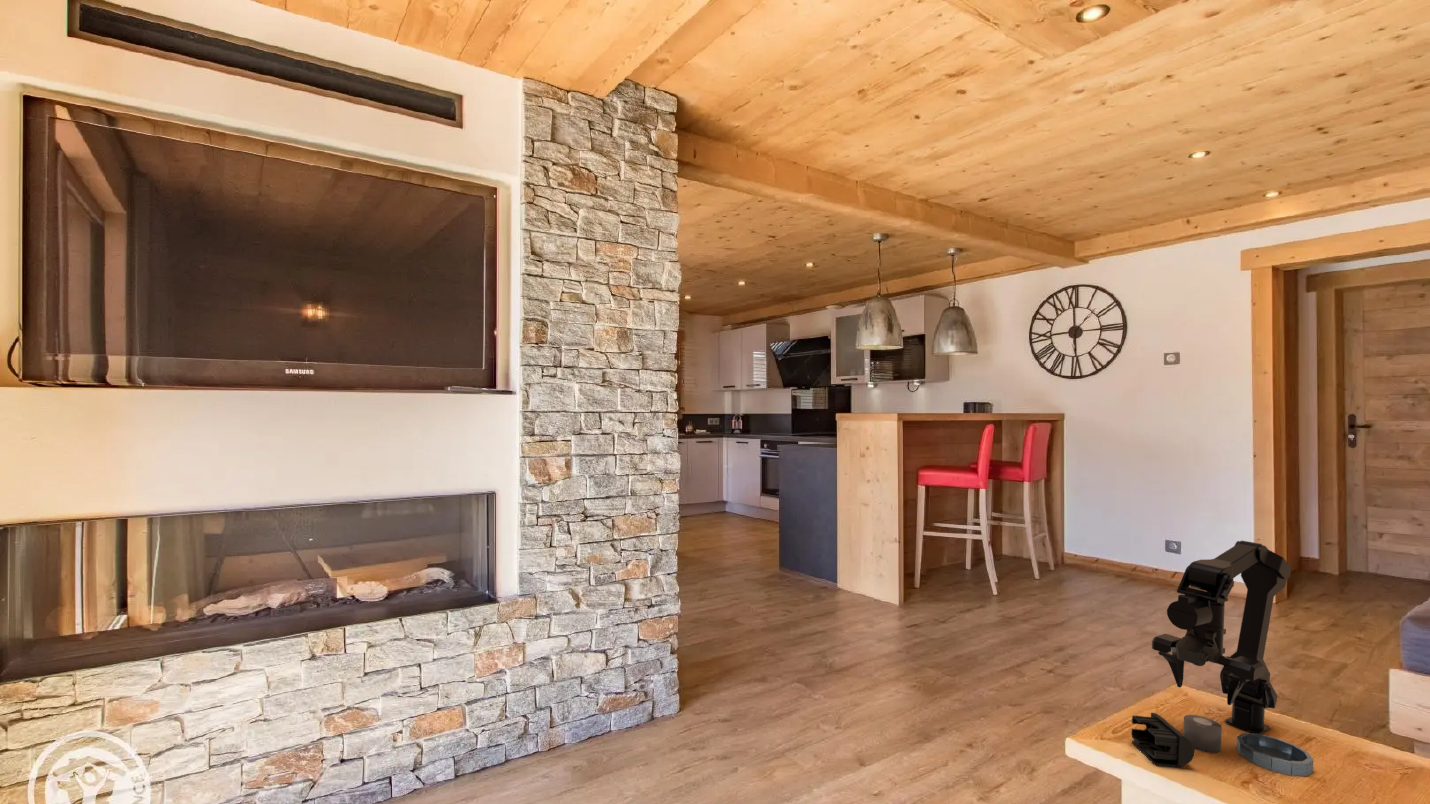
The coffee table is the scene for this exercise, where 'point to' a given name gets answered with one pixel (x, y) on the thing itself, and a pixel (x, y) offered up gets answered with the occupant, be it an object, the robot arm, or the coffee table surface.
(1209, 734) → the dark brown cylinder
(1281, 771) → the blue-grey round tray
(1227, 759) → the coffee table surface
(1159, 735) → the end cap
